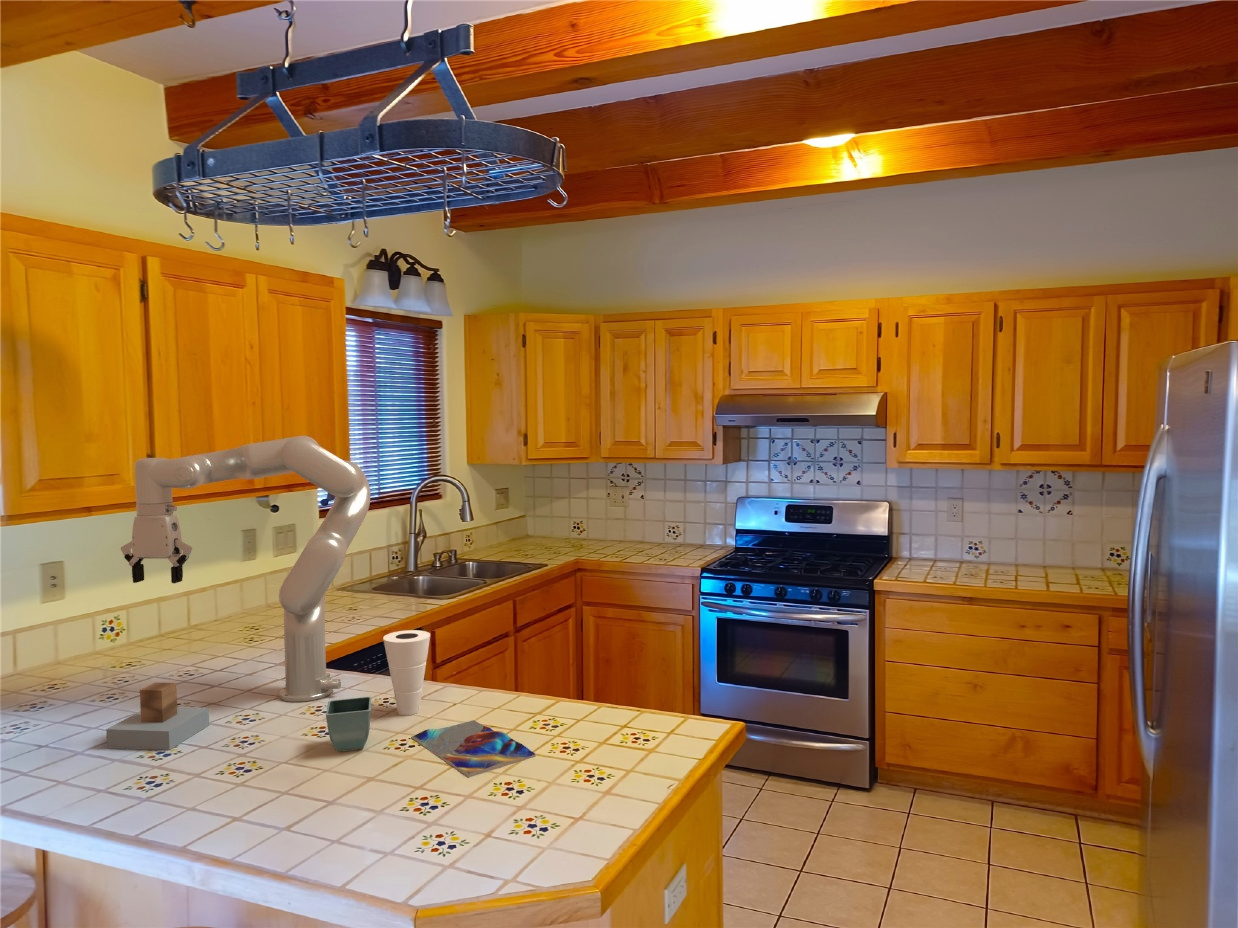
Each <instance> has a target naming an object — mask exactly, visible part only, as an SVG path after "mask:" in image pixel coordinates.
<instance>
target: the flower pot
mask: <svg viewBox="0 0 1238 928" xmlns="http://www.w3.org/2000/svg"><path fill="white" fill-rule="evenodd" d="M371 711H372V696H363V697H362V696H360V697H352V698H344V699H343V698H342V699H334V700H333V699H332V700H329V701H327V708H326V712H325V718H326V725H327V731H328V736H329V739H330V742H331V744H332V745H333V747H334V749H335V750H336V751H337V752H348V751H349V752H350V751H357V750H363V749H364V747H365V745H366V743H367V741H368V739H369V734H370V729H371V728H370V727H371V726H370V725H371V715H372V713H371Z"/></svg>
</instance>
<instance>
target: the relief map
mask: <svg viewBox="0 0 1238 928" xmlns="http://www.w3.org/2000/svg"><path fill="white" fill-rule="evenodd" d="M410 739H412V740H413V741H415V742H416V743H417V744H419V745H420V746H422V747H423V748H425V749H427V750H428V751H430V752H431V753H432V754H433V755H436V757H438V758H439V759H441V760H443V761H444V763H445V762H446V763H447V764H448V765H450V766H451V767H452V768H454V769H455V770H457V771H459V772H460V773H462V775H465V777H467V778H471V777H475V776H478V775H481V774H485V773H488V772H491V771H493V770H497V769H500V768H504V767H507V766H510V765H512V764H516V763H519V762H522V761H526V760H529V759H532V758H535V757H536V753H535V752H533V751H532V750H530V749H529V748H528V747H527V746H526V745H524V744H522V743H521V742H519V741H517V740H515V739H513V738H511V737H510V736H509V735H508V734H507V733H505V732H504V731H501V730H493V729H492V727H489V726H486V725H484V724H482V723H480V722H478V721H476V720H475V719H473V720H470V721H465V722H462V723H458V724H454V725H451V726H450V725H449V726H446V727H441V728H440V727H439V728H428V729H425V730H422V731H420V732H418V733H417V734H414V735H411V736H410Z"/></svg>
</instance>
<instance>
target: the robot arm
mask: <svg viewBox="0 0 1238 928" xmlns="http://www.w3.org/2000/svg"><path fill="white" fill-rule="evenodd" d="M291 473H294V474H296V475H298V476H299V477H301V478H303V479H304V480H306V481H308V482H309V483H311V484H313V485H315V486H317V487H318V488H320V489H321V490H323V491H325V492H327V493H328V494H330V495H332V496H334V499H333V500H334V501H333V503H332V505H331V507H330V509H329V510H328V512H327V514H326V516H325V518H324V519H323V520H322V521H321V523H320V525H319V527H318V529H316V531H315V533H314V534H313V535H312V536H311V538H310V539H309V540H308V542H307V543H306V545H305V547H304V548H303V550H302V552H301V553H300V554H299V556H298V558H297V560H296V561H295V563H294V565H293V566H292V568H291V570H290V571H289V573H288V574H287V576H286V577H284V580H283V582H282V584H281V586H280V588H279V592H278V600H279V604H280V606H281V608H282V609H283V639H284V640H283V642H284V670H285V671H284V674H285V686H284V687H283V688H282V689H280V690H279V692H278V693H279V696H278V697H279V699H281V700H283V701H286V702H293V703H294V702H295V703H296V702H298V703H299V702H309V701H316V700H319V699H323V698H325V697H327V696H329V695H331V694H332V693H333V692H334V690H340V689H341V687H342V682H341V679H340V678H331V672H327V661H326V659H327V658H326V623H325V622H326V617H325V615H326V614H325V613H326V612H325V610H326V609H325V607H326V606H325V604H326V603H325V601H326V600H325V597H326V593H327V591H328V590H329V587H330V586H331V584H333V583H332V582H333V581H334V579H335V578H336V576H337V575H338V573H339V571H340V570H341V567H342V566H343V564H344V562H345V558H346V554H347V551H348V549H349V547H350V545H351V543H352V542H353V540H354V538H355V536H357V535H356V534H357V533H358V531H359V529H360V527H361V526H362V523H363V522H364V520H365V518H366V516H367V513H368V511H369V508H370V504H371V488H370V484H369V481H368V479H367V477H366V475H365V473H364V471H363V470H362V469H361V467H360V466H359V465H358V464H357V463H355V462H353V461H351V460H343V459H342V458H340V457H339V456H337V455H335V454H334V453H332V452H331V451H328V450H327V449H325V448H324V447H322V446H320V445H319V443H318V441H316V439H314V438H313V437H310V436H307V435H299V436H291V437H287V438H285V437H284V438H281V439H280V438H279V439H274V440H268V441H261V442H254V443H248V444H244V445H241V446H238V447H235V448H229V449H223V450H220V451H219V450H218V451H213V452H206V453H199V454H194V455H187V456H182V457H178V458H169V459H168V458H166V457H146V458H139V459H137V460H136V461H135V463H134V475H135V476H134V481H135V482H134V484H135V503H136V508H135V509H136V516H134V518H133V524H132V531H131V532H132V534H131V541H129V542H128V543H126V544H124V545H123V546H122V545H121V547H120V550H121V552H122V555H123V556H124V557H123V558H124V559H125V560H126V561H127V562H128V565H129V567H131V575H132V576H131V577H132V583H134V584H137V583H140V582H144V581H145V565H144V563H142V562H143V561H144V560H145V559H151V560H153V559H158V560H159V559H161V560H163V559H167V560H168V561H169V562H170V563H171V565H172V566H170V577H171V578H170V580H171V581H170V582H171V584H177V583H181V582H183V577H184V575H183V574H184V570H183V568H184V567H183V565H185V563H186V562H187V561H188V560H189V558H190V555H191V553H192V551H193V547H192V546H191V545H189V544H187V543H186V542H183V541H182V540H183V539H182V534H181V533H182V531H181V527H180V523H179V519H178V516H177V515H176V514H174V512H176V511H177V510H178V506H177V505H174V502H173V489H180V490H181V489H182V490H183V489H184V490H185V489H186V490H190V489H193V488H196V487H199V486H201V485H202V486H203V485H206V484H207V485H208V484H211V483H212V484H213V483H217V482H218V483H219V482H223V481H224V482H225V481H231V480H239V479H242V480H243V479H244V480H254V479H255V480H256V479H257V480H258V479H262V478H266V477H274V476H278V475H284V474H285V475H286V474H291ZM131 550H132V551H131Z"/></svg>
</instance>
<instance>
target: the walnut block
mask: <svg viewBox="0 0 1238 928" xmlns="http://www.w3.org/2000/svg"><path fill="white" fill-rule="evenodd" d="M177 690H178V689H177V682H153V683H151V684H149V685H147V686H145V687H143V688H140V689H139V704H140V705H139V706H140V707H139V708H140V711H141V722H159V723H163V722H165V721H167V720H168V719H170V718H172V717H174V716H175V715H177V714H178V713H177V707H178V697H177V696H178V694H177V693H178V692H177Z"/></svg>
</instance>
